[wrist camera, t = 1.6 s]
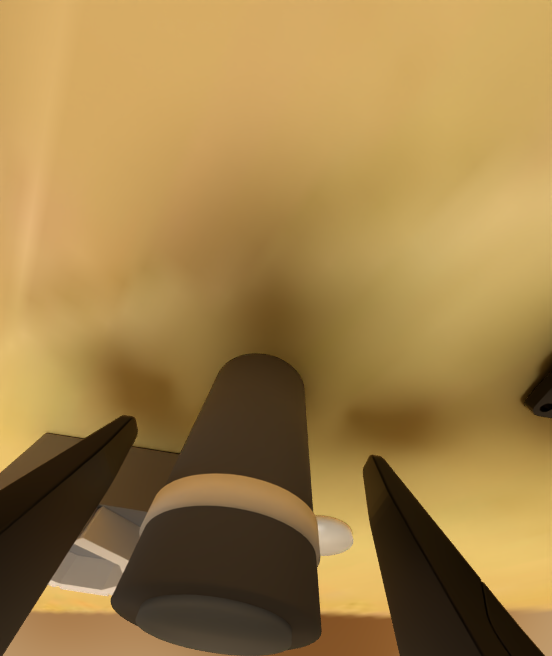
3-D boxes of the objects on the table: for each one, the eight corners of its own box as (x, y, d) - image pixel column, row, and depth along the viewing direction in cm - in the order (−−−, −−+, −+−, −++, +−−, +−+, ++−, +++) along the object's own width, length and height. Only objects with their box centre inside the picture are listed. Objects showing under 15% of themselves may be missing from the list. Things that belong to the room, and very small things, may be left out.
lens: (316, 360, 10) (359, 619, 4) (296, 429, 12) (301, 672, 6) (214, 344, 10) (72, 574, 3) (212, 416, 12) (120, 645, 6)
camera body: (224, 461, 14) (192, 573, 9) (219, 524, 17) (195, 626, 13) (46, 433, 13) (-70, 533, 9) (78, 502, 17) (6, 597, 13)
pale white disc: (359, 516, 16) (362, 529, 15) (340, 546, 18) (342, 559, 18) (291, 505, 16) (291, 518, 15) (280, 536, 18) (279, 549, 17)
